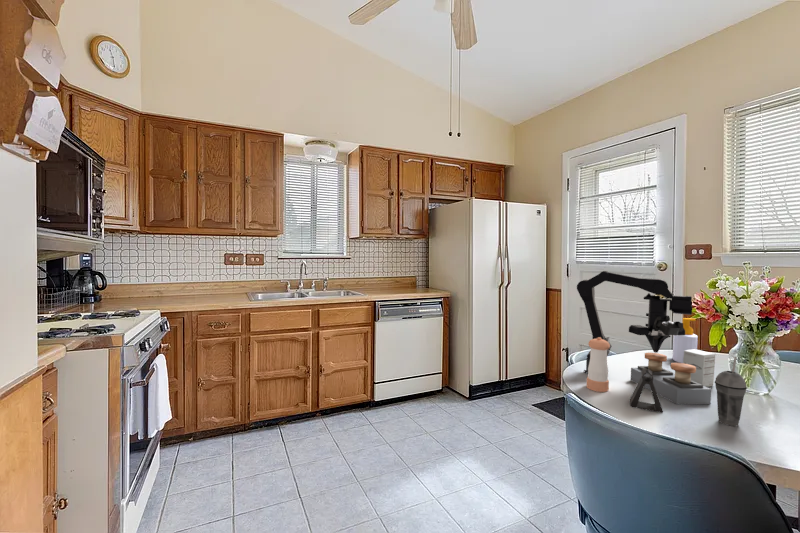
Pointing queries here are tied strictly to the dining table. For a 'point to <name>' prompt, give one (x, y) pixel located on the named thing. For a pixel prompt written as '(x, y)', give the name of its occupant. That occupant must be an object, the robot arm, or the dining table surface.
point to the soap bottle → (684, 341)
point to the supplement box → (701, 366)
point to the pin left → (655, 361)
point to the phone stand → (638, 390)
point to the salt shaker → (598, 366)
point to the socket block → (674, 387)
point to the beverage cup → (730, 396)
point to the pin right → (683, 372)
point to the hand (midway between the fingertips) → (655, 352)
